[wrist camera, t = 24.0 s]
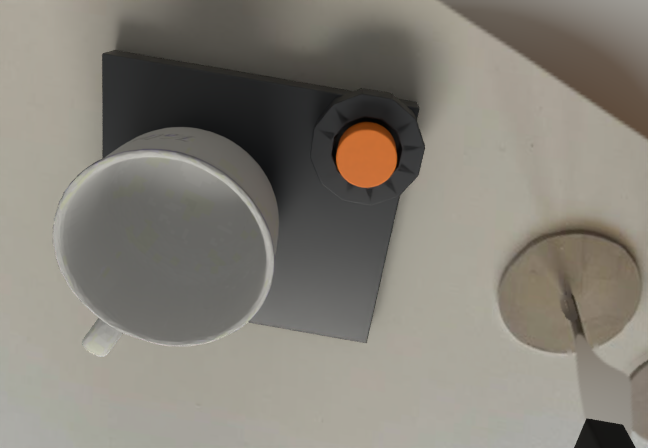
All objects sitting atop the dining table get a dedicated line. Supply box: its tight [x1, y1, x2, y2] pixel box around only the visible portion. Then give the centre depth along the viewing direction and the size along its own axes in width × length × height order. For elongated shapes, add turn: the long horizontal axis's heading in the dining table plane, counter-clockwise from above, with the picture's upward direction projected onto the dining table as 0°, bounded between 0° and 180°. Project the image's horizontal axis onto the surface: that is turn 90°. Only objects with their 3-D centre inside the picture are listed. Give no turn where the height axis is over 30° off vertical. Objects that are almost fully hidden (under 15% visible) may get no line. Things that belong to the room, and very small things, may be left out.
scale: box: [102, 50, 425, 343], centre depth 34 cm, size 18×16×4 cm
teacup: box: [53, 127, 279, 357], centre depth 31 cm, size 14×11×8 cm
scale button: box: [336, 122, 397, 188], centre depth 30 cm, size 3×3×2 cm
